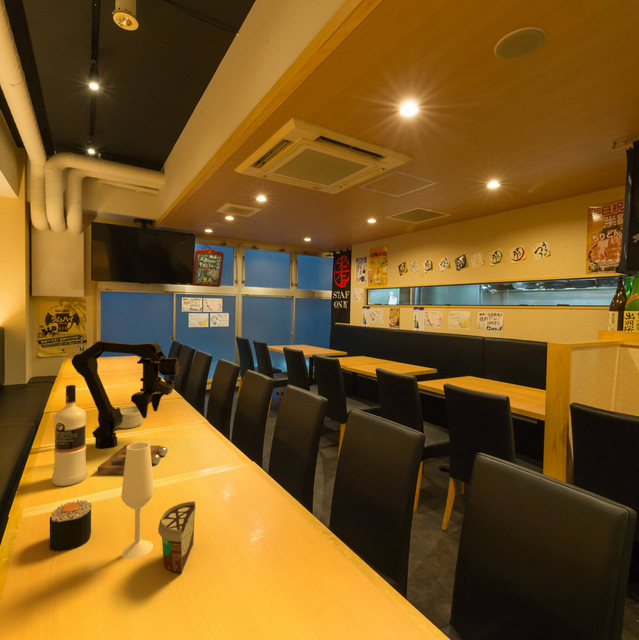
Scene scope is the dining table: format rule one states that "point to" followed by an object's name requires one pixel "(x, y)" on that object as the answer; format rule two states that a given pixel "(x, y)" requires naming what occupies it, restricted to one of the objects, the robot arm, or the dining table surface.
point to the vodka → (70, 442)
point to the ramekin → (131, 417)
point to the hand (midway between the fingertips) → (150, 414)
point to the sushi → (70, 525)
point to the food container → (177, 535)
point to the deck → (119, 462)
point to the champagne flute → (137, 493)
